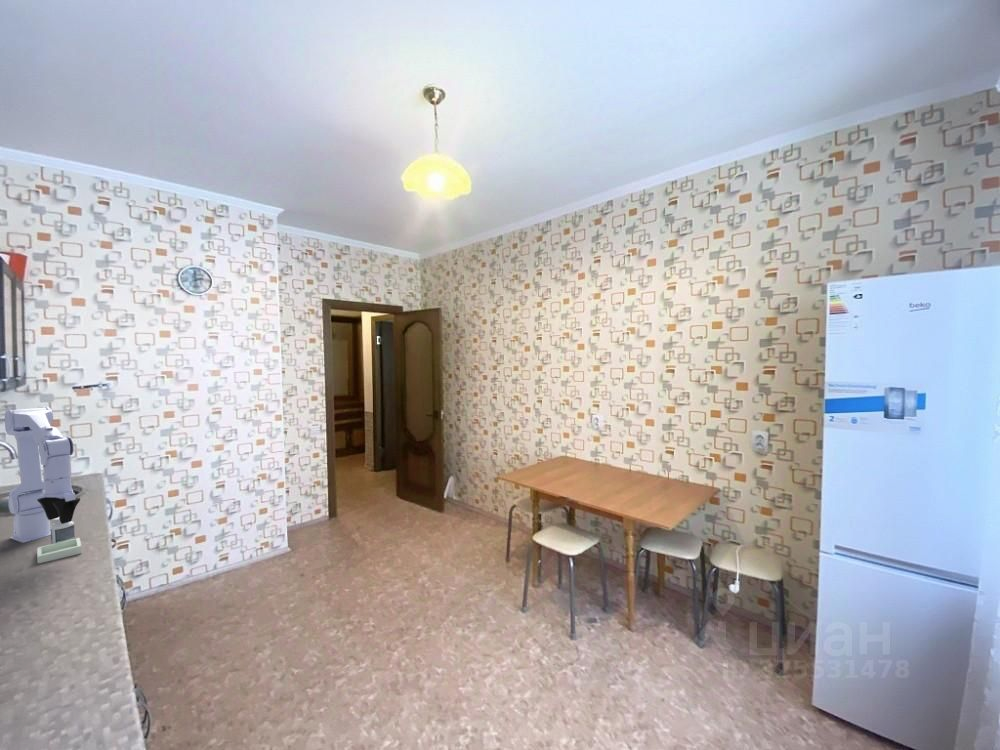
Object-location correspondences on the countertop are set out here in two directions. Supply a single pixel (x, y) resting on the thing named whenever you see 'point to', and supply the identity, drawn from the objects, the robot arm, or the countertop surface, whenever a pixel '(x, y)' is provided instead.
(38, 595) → the countertop surface
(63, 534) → the pill bottle
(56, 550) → the tray
